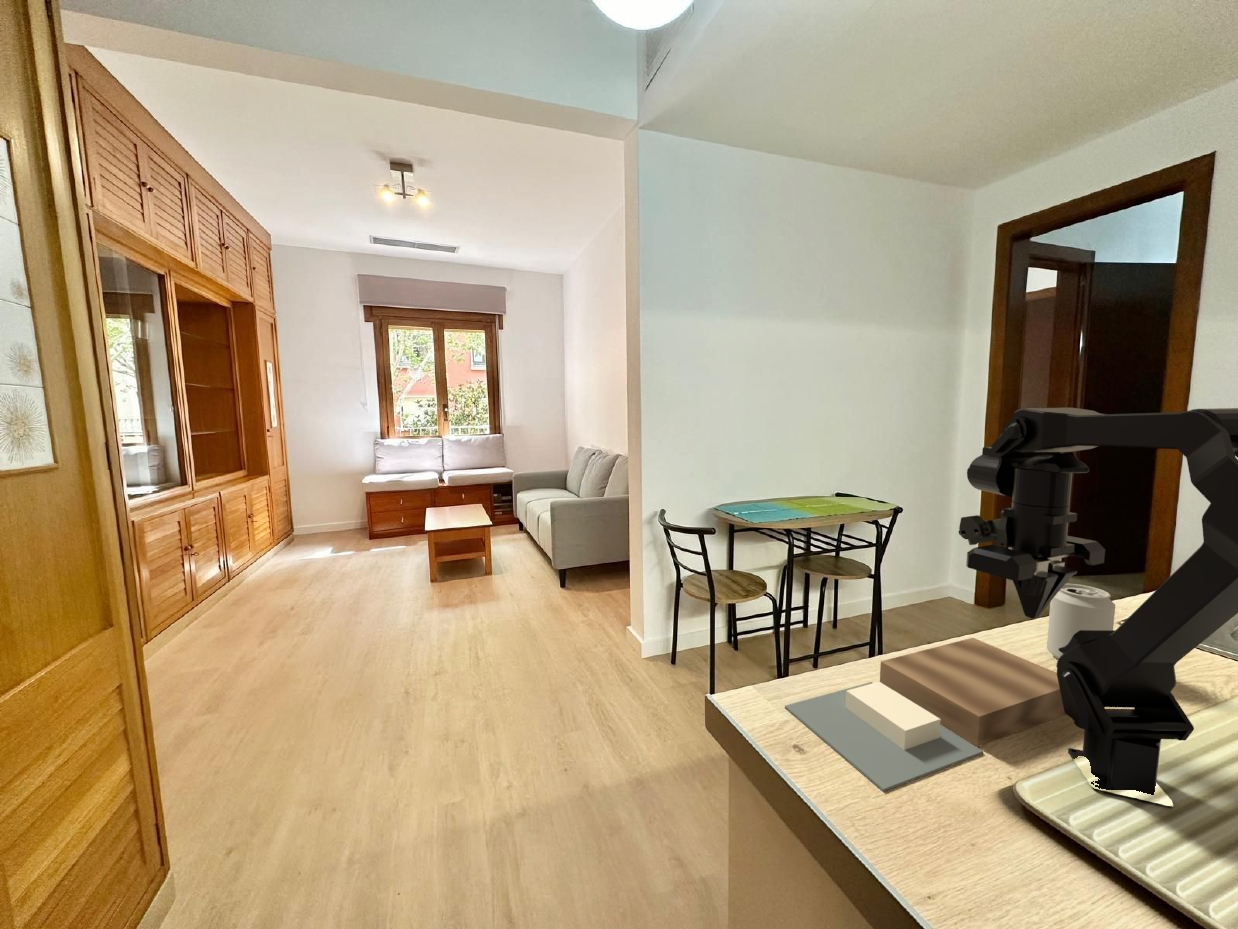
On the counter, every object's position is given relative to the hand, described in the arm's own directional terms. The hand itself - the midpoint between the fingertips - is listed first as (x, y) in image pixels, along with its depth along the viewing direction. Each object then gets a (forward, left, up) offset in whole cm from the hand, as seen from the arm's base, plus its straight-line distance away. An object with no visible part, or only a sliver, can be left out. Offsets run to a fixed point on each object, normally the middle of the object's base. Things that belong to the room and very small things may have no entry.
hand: (1031, 617), depth 65 cm
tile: (-11, +17, -11) cm, 23 cm away
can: (+19, -12, -13) cm, 26 cm away
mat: (-13, +19, -13) cm, 26 cm away
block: (0, +6, -13) cm, 14 cm away
